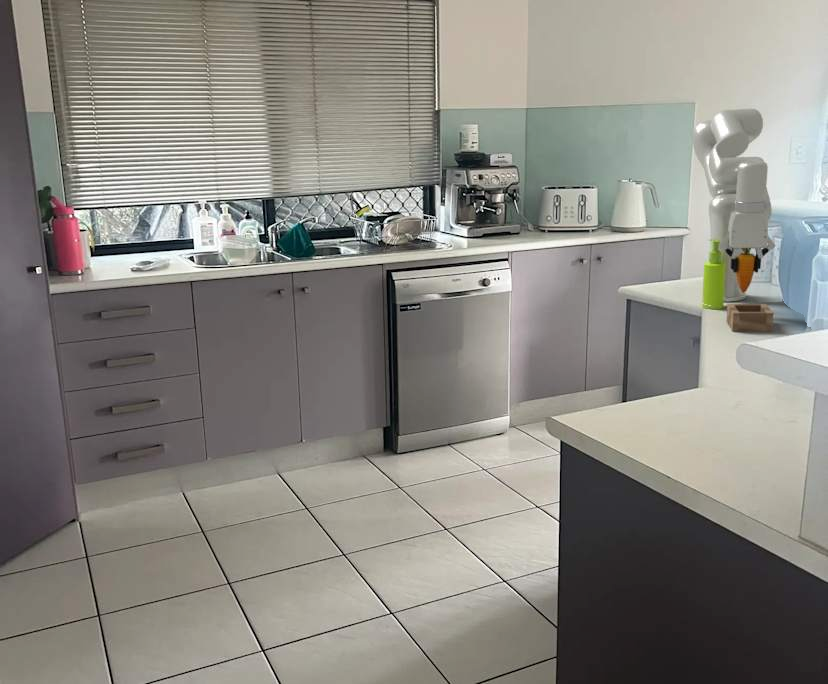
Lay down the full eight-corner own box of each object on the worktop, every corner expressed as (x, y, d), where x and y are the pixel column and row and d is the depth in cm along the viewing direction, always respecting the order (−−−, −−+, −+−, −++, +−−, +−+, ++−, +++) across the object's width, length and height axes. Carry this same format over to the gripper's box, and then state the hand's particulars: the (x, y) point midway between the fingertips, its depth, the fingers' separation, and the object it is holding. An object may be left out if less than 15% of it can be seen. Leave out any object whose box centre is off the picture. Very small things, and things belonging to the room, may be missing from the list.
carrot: (754, 295, 234) (758, 242, 229) (735, 295, 235) (739, 243, 230) (751, 290, 239) (755, 238, 234) (732, 290, 240) (736, 239, 235)
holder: (726, 321, 233) (727, 304, 232) (764, 321, 231) (765, 303, 230) (732, 331, 224) (733, 313, 222) (772, 331, 222) (773, 313, 220)
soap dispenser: (719, 303, 252) (722, 237, 246) (725, 308, 246) (728, 241, 240) (699, 303, 253) (702, 238, 247) (704, 309, 246) (707, 242, 241)
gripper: (780, 203, 231) (774, 267, 237) (715, 205, 234) (711, 268, 240) (786, 209, 224) (780, 274, 230) (719, 210, 227) (715, 275, 233)
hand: (745, 270), depth 235 cm, fingers closed on carrot, 5 cm apart
